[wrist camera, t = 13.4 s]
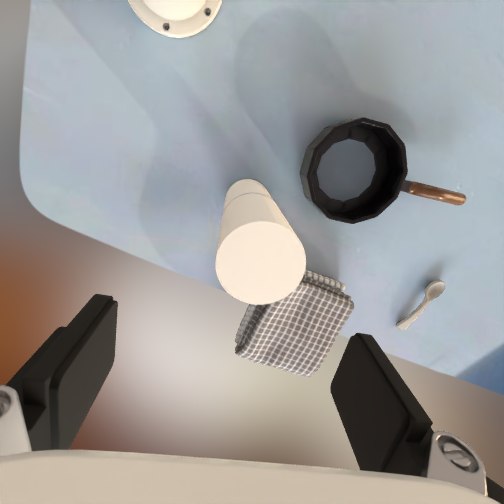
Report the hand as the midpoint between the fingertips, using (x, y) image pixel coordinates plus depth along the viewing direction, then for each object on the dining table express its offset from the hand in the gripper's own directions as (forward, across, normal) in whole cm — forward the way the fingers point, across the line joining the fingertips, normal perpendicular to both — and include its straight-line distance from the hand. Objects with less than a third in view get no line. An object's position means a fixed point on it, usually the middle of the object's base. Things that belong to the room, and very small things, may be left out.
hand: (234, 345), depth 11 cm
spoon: (+36, -38, +14) cm, 55 cm away
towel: (+36, -14, +20) cm, 44 cm away
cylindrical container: (+36, -3, +2) cm, 37 cm away
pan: (+36, -22, -6) cm, 43 cm away
